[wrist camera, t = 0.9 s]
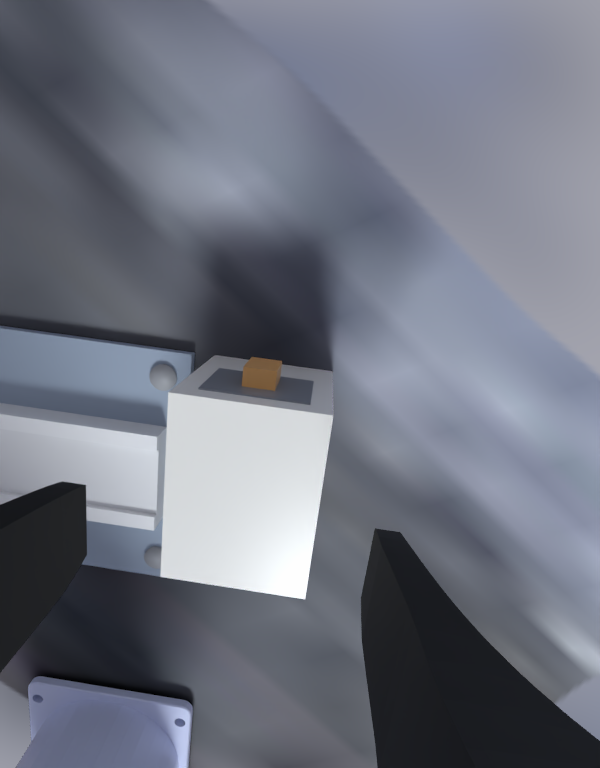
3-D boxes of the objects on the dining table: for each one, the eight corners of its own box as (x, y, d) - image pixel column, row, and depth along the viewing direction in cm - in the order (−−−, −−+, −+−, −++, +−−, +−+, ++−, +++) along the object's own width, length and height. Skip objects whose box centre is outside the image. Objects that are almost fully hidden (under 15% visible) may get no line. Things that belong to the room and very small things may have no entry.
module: (312, 509, 18) (304, 599, 13) (205, 494, 18) (160, 576, 14) (335, 353, 16) (336, 392, 12) (216, 337, 16) (169, 369, 12)
